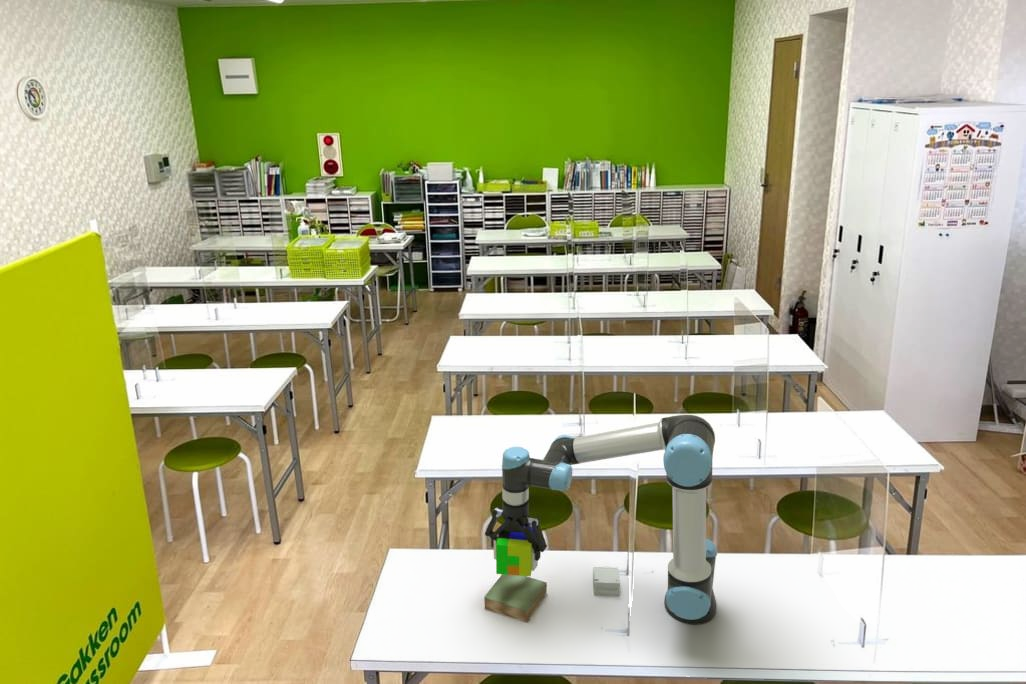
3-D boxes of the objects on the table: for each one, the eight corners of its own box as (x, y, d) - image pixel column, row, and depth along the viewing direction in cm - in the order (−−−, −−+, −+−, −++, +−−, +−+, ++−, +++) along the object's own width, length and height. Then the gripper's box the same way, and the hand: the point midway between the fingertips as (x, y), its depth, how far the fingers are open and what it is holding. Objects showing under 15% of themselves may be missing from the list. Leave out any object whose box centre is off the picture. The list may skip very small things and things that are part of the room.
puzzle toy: (534, 555, 231) (534, 527, 227) (530, 576, 221) (530, 547, 218) (501, 552, 232) (500, 524, 228) (496, 573, 222) (496, 544, 219)
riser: (546, 593, 234) (546, 582, 233) (527, 622, 222) (527, 610, 221) (505, 581, 240) (505, 569, 238) (484, 608, 228) (484, 597, 227)
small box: (617, 580, 240) (618, 566, 239) (619, 597, 233) (620, 583, 231) (592, 579, 241) (593, 565, 239) (593, 596, 234) (594, 582, 232)
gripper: (559, 502, 217) (557, 566, 225) (484, 483, 226) (485, 544, 234) (548, 516, 210) (547, 581, 218) (472, 495, 220) (473, 558, 228)
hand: (515, 562), depth 226 cm, fingers closed on puzzle toy, 12 cm apart
